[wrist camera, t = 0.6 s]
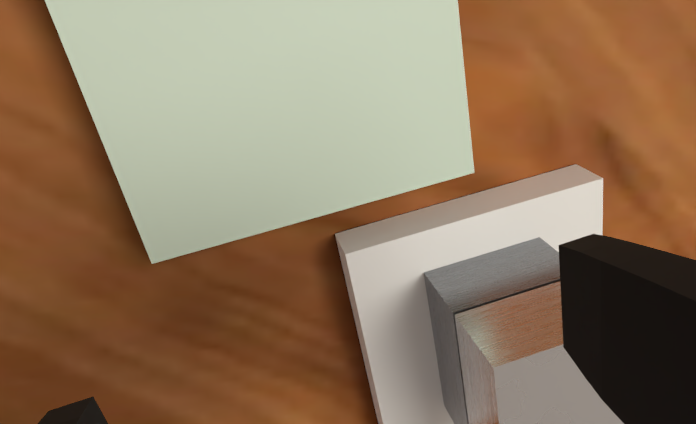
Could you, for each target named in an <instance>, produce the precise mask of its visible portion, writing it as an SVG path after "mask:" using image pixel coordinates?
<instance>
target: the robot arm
mask: <svg viewBox="0 0 696 424" xmlns="http://www.w3.org/2000/svg"><path fill="white" fill-rule="evenodd" d="M559 265H560V286H561V307H562V328H563V347H564V349H565V350H566V351H567V353H568V354H569V356H570V357H571V358H572V360H573V361H574V363H575V364H576V365H577V367H578V368H579V370H580V371H581V373H582V374H583V375H584V377H585V378H586V379H587V381H588V382H589V383H590V385H591V386H592V387H593V389H594V390H595V391H596V393H597V394H598V395H599V397H600V398H601V399H602V400H603V401H604V403H605V404H606V405H607V406H608V407H609V408H610V409H611V410H612V411H613V412H614V414H615V415H616V416H617V417H618V418H619V419H620V420H621V421H622V422H623V423H624V424H696V260H693V259H689V258H686V257H682V256H679V255H675V254H672V253H668V252H665V251H661V250H657V249H654V248H650V247H647V246H643V245H639V244H635V243H632V242H628V241H624V240H620V239H616V238H612V237H607V236H602V235H597V234H591V235H588V236H585V237H582V238H579V239H576V240H573V241H570V242H567V243H564V244H561V245H559ZM38 424H108V423H107V421H106V419H105V417H104V416H103V414H102V412H101V410H100V408H99V406H98V405H97V403H96V401H95V399H94V397H91V398H87V399H84V400H81V401H78V402H75V403H72V404H69V405H66V406H63V407H60V408H57V409H54V410H51V411H48V413H47V414H46V415H45V416H44V417H43V418H42V420H41V421H40V422H39V423H38Z"/></svg>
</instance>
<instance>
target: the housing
mask: <svg viewBox="0 0 696 424" xmlns="http://www.w3.org/2000/svg"><path fill="white" fill-rule="evenodd" d="M424 279H425V285H426V292H427V298H428V305H429V311H430V318H431V324H432V330H433V337H434V343H435V350H436V356H437V363H438V369H439V376H440V382H441V389H442V395H443V402H444V406H445V408H446V410H447V412H448V413H449V415H450V417H451V419H452V421H453V422H454V424H624V423H623V422H622V421H621V420H620V419H619V418H618V417H617V416H616V415H615V414H614V412H613V411H612V410H611V409H610V408H609V407H608V406H607V405H606V404H605V403H604V401H603V400H602V399H601V398H600V397H599V395H598V394H597V393H596V391H595V390H594V389H593V387H592V386H591V385H590V383H589V382H588V381H587V379H586V378H585V377H584V375H583V374H582V373H581V371H580V370H579V368H578V367H577V365H576V364H575V363H574V361H573V360H572V358H571V357H570V356H569V354H568V353H567V351H566V350H565V349H564V347H563V328H562V307H561V286H560V265H559V252H558V251H556V250H555V249H554V248H553V247H551V246H550V245H549V244H548V243H546V242H545V241H544V240H542V239H541V238H540V237H538V238H535V239H532V240H528V241H525V242H522V243H518V244H515V245H512V246H509V247H505V248H502V249H499V250H496V251H492V252H489V253H486V254H482V255H479V256H476V257H473V258H469V259H466V260H463V261H459V262H456V263H453V264H450V265H446V266H443V267H440V268H437V269H433V270H430V271H427V272H424Z"/></svg>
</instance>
